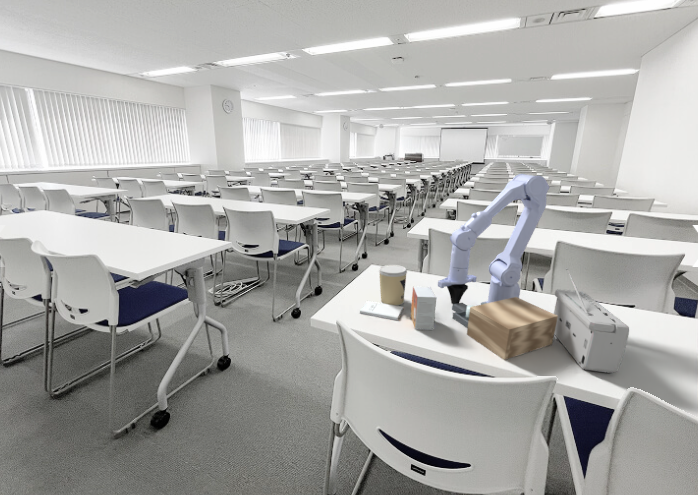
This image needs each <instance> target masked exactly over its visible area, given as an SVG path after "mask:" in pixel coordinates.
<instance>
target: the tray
mask: <svg viewBox="0 0 698 495" xmlns="http://www.w3.org/2000/svg"><path fill="white" fill-rule="evenodd" d="M482 302H483V303H482ZM482 302H481V303H480V305H482V304H487V302H486V301H482ZM473 306H474V305H472V304H471V305H470V304H465V303H464V302H459V303H457V304H452V307H451V310H453V311H454V312H452V320H454V321H456V322H457V323H459V324H460V325H462V326H463V327H465V328H466V330H467V329H468V321H469V313H470V307H473Z"/></svg>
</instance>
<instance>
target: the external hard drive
mask: <svg viewBox="0 0 698 495" xmlns="http://www.w3.org/2000/svg"><path fill="white" fill-rule="evenodd" d="M403 311H404V306H401V305H399V306H395V305H389V304H383V303H382V302H378V301H377V302H376V301H371V300H367V301H365V303H364V304H363V306H362V307H361V309H360V310H359V314H363V315H367V316H373V317H376V318H377V317H378V318H383V319H388V320H394V321H398V320H399V319H400V317H401V315H402V312H403Z"/></svg>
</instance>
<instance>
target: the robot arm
mask: <svg viewBox="0 0 698 495" xmlns="http://www.w3.org/2000/svg"><path fill="white" fill-rule="evenodd" d="M549 189H550V184H549V183H548V182H547V180H546V178H545V177H544V176H542V175H532V174H525V173H519V174H517V175H515V176H514V177H513V178H512V179H511V180H510V181H508V182H507V183H506V185H505V187H504V188H503V189H502V191H500V192H499V194H498V195H497V196H496V197H495V198H494V199H493V200H492V201H491V202H490V203H489V204H488V205H487V206H486V208H485V209H484V210H481V211H477V212H473V213H472V214H471V215H470V216H471V217H470V218H469V219H468V220H467V221H466V222H465V223H464V224H461V225H460V226H459V228H458V229H455V230H454V231H453V232H452V233H451V235H450V236H449V240H450V242H451V244H452V245H451V246H452V247H451V254H450V264H449V271H448V272H449V273H448V274H447V276H446V277H445V278H443V279H440V280H438V281H437V287H439V288H440V289H443V288H446V287H447V290H448V293H449V297H450V303H451V304H452V305H453V304H457V303H461V300H462V297H463V295H464V294H465V292H467V290H468V289H469V286H468V285H467V283H477V282H476V281H477V277H478V276H476V275H473V274H468V273H469V265H470V257H471V249H472V248H473V247H474V246H475V244H476V240H477V239H478V238H479V236H481V234H482V233H484V232H485V231H486V230H488V228H489V227H490V226H491V225H492V223H493V222H492V221H493V218H494V217H495V216H496V215H498V214H499V213H500V212H501V211H502V210H503V209H505V208H506V207H507V206H508V205H509V204H511V203H512V202H513V201H517V200H519V201H520V200H521V202H522V205H523V206H524V207H523V210H522V212H521V214H520V215H519V218H518V220H517V222H516V224H515V226H514V228H513V231H512V232H511V235H510V237H509V239H508V241H507V243H506V245H505V247H504V249H503V251H502V252H500V253H498V254H497V255H496V257H495V258H494V260H493V261H491V262H490V264H489V266H488V272H489V274H490V283H489V290H488V297H487V298H488V299H487V300H486V301H485V302H487V303H491V302H495V301H500V300H504V299H509V298H513V297H517V298H520V294H521V287H520V285H519V283H518V282H520V279H521V272H522V269H523V263H522V261H521V260H522V259H521V258H522V256H523V254H524V252H525V250H526V248H527V246H528V244H529V242H530V240H531V238H532V236H533V235H534V232H535V229H536V228H537V226H538V224H539V221H540V220H541V217H542V216H543V213H544V212H545V210H546V207H547V197H548V196H547V194H548V192H549ZM483 302H484V301H482V302H481V303H483Z"/></svg>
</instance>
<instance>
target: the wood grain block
mask: <svg viewBox="0 0 698 495" xmlns="http://www.w3.org/2000/svg"><path fill="white" fill-rule="evenodd" d="M557 318H558V316H557V315H555V314H554V312H553V313H552V312H550V311H548V310H546V309H544V308H542V307H539V306H537V305H534V304H533V303H530V302H529V301H527V300H524V299H522V298H520V297H519V298H517V297H513V298H509V299H504V300H500V301H495V302H491V303H487V304H482V305H481V304H478V305H473V307H470V313H469V321H468V329H467V328H466V330H467V331H466V335H467V336H468V337H470V338H471V339H473V340H474V341H475V342H477V343H479V344H480V345H481V346H483V347H485V348H486V349H488V350H489V351H491V352H492V353H494V354H495V355H496V356H498V358H500V359H502V360H504V361H505V360H508V359H511V358H514V357H517V356H520V355H523V354H528V353H530V352H533V351H536V350H539V349H542V348H545V347H549V346H552V345H553V341H554V338H555V337H554V336H555V334H554V332H555V327H556V323H557Z"/></svg>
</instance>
